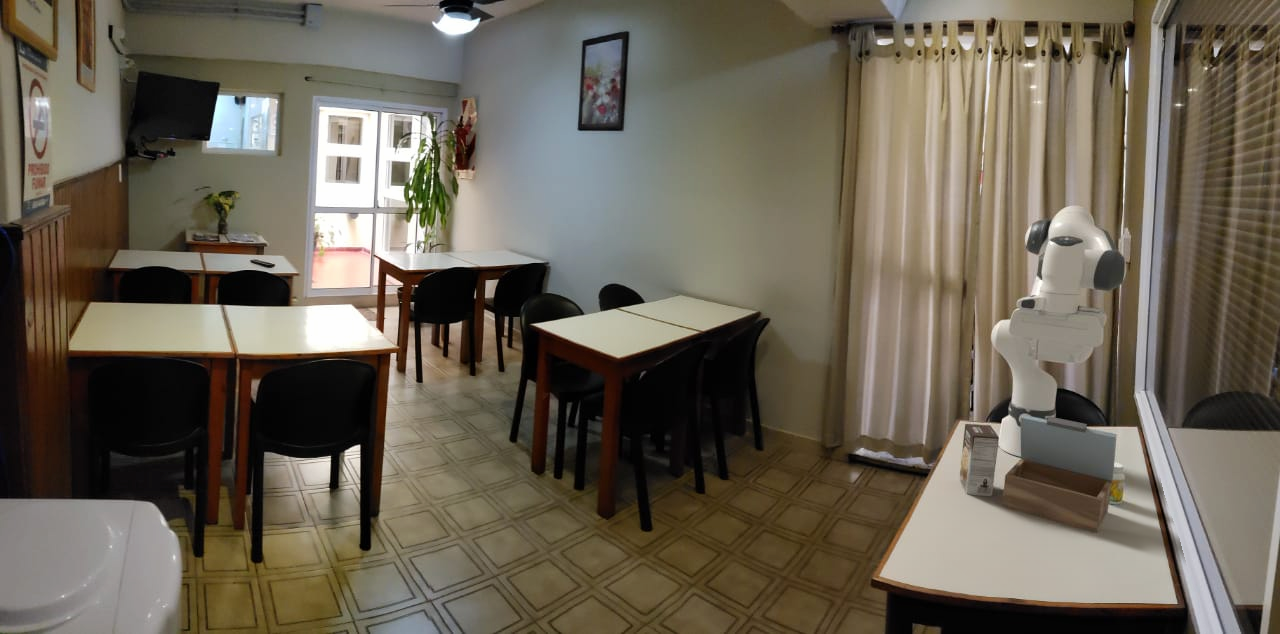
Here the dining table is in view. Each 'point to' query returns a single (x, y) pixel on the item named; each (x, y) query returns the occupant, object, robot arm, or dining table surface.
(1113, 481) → the supplement bottle
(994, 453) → the coffee box
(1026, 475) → the walnut box
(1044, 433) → the lid
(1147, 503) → the dining table surface
